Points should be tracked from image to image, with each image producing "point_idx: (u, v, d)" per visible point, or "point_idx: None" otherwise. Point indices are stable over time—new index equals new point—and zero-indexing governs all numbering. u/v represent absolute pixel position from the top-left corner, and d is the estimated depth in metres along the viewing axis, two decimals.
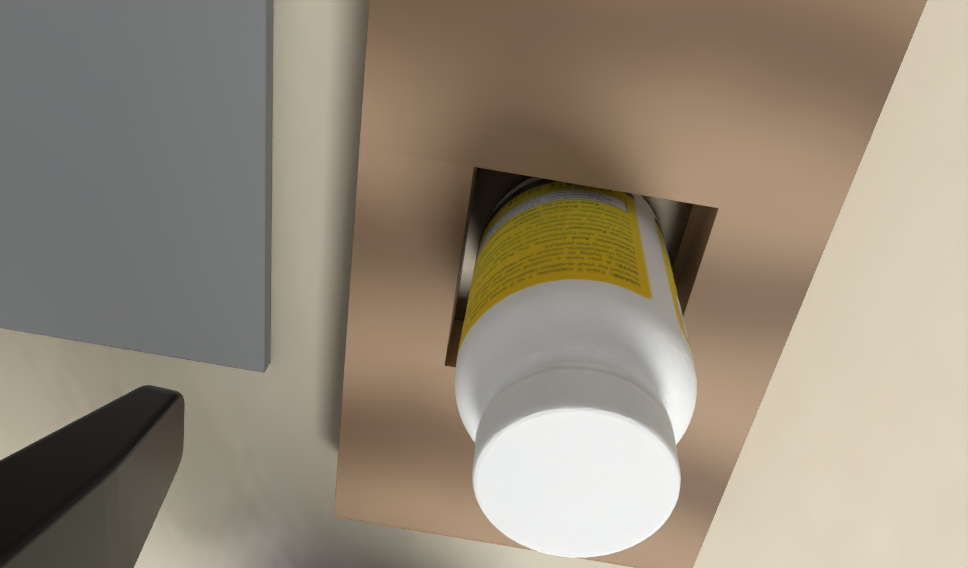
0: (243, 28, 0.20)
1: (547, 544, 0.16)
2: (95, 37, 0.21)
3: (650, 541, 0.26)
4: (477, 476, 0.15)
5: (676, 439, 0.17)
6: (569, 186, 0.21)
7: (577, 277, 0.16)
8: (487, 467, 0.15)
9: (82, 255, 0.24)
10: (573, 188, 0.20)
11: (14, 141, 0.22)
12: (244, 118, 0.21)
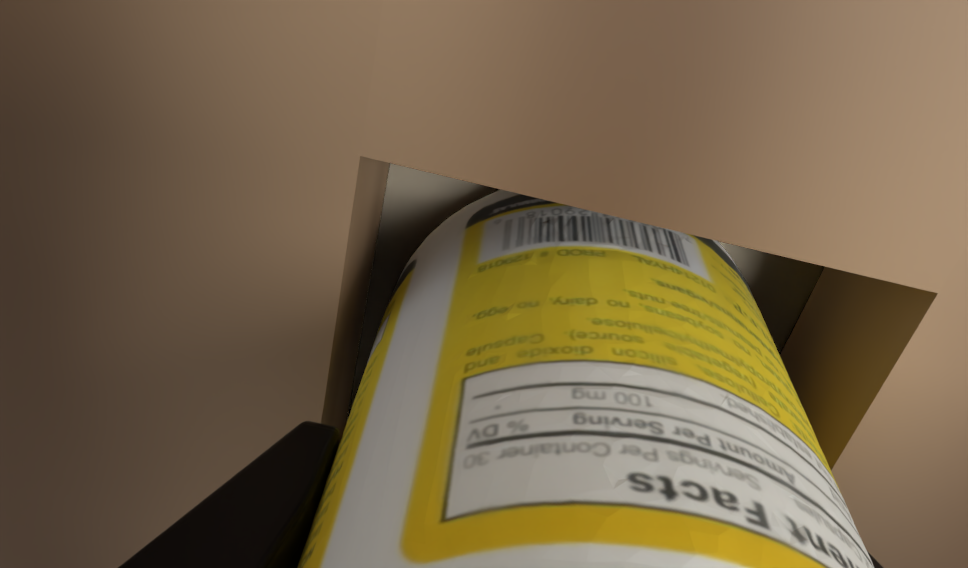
0: None
1: None
2: None
3: None
4: None
5: None
6: None
7: None
8: None
9: None
10: None
11: None
12: None
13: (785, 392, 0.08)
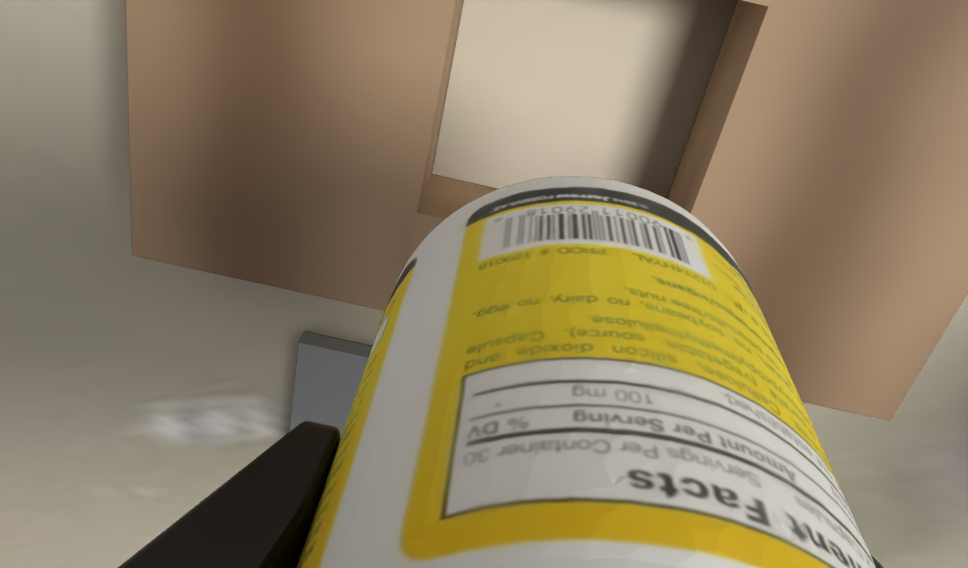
0: (328, 365, 0.23)
1: None
2: None
3: None
4: None
5: None
6: None
7: None
8: None
9: None
10: None
11: None
12: None
13: (786, 389, 0.08)
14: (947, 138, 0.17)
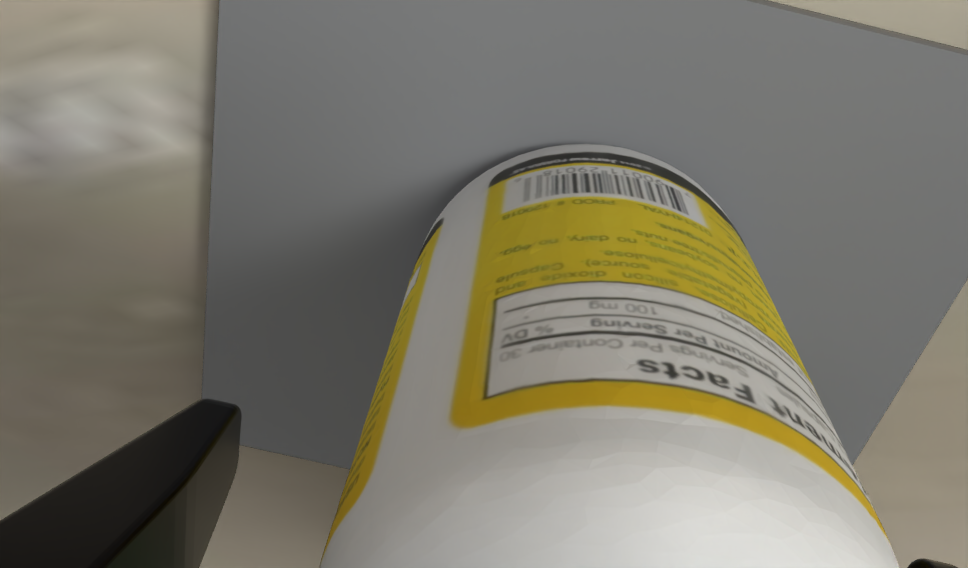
0: None
1: None
2: (324, 210, 0.13)
3: None
4: None
5: (754, 554, 0.05)
6: None
7: None
8: None
9: None
10: None
11: None
12: None
13: (772, 317, 0.09)
14: None
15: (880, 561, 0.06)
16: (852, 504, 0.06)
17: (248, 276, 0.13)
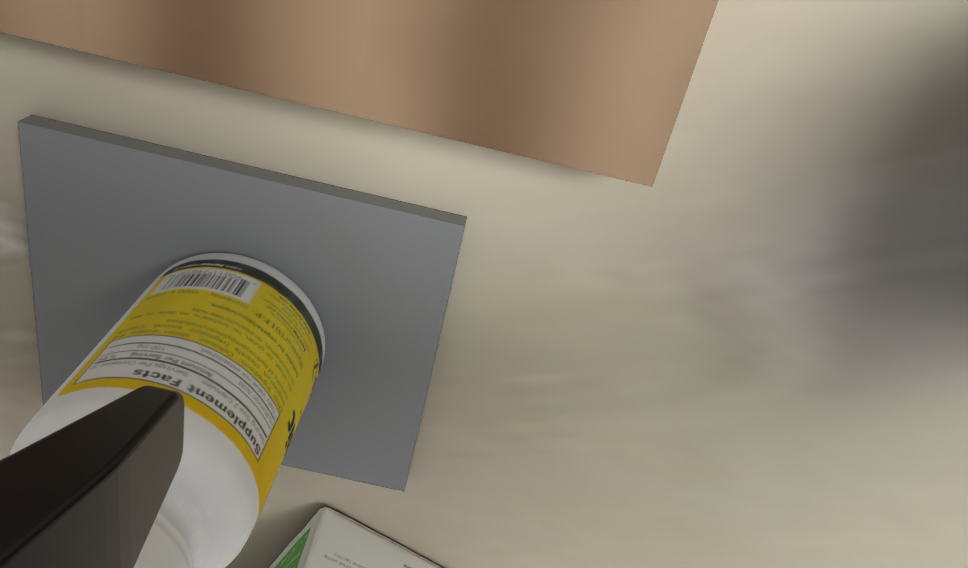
0: (55, 151, 0.21)
1: None
2: (94, 284, 0.23)
3: None
4: None
5: None
6: None
7: None
8: None
9: None
10: None
11: None
12: (145, 172, 0.21)
13: (253, 349, 0.19)
14: None
15: (201, 444, 0.16)
16: (203, 424, 0.16)
17: (58, 319, 0.24)
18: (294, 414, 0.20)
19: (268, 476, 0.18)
